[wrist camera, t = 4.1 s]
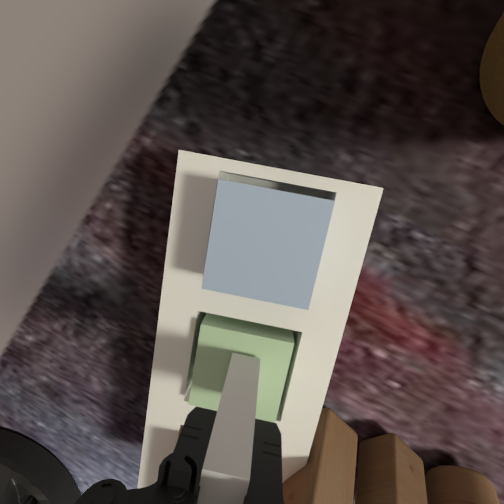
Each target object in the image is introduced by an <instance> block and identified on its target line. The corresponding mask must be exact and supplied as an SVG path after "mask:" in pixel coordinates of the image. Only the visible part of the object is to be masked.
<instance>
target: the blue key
mask: <svg viewBox="0 0 504 504" xmlns="http://www.w3.org/2000/svg"><path fill="white" fill-rule="evenodd" d="M334 203H335V201H333V200H328V199H323V198H317V197H312V196H307V195H301V194H296V193H291V192H286V191H280V190H275V189H270V188H265V187H259V186H254V185H249V184H243V183H238V182H233V181H228V180H222V179H218V184H217V191H216V197H215V204H214V210H213V217H212V223H211V230H210V236H209V242H208V249H207V255H206V262H205V268H204V275H203V281H202V288H201V289H206V290H211V291H216V292H221V293H226V294H230V295H235V296H240V297H245V298H250V299H255V300H260V301H265V302H270V303H275V304H280V305H285V306H290V307H295V308H300V309H305V310H308V309H309V305H310V301H311V297H312V293H313V289H314V285H315V281H316V277H317V273H318V268H319V264H320V260H321V256H322V252H323V248H324V244H325V240H326V236H327V232H328V228H329V224H330V220H331V215H332V211H333V207H334Z"/></svg>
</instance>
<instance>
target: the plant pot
mask: <svg viewBox="0 0 504 504" xmlns="http://www.w3.org/2000/svg"><path fill="white" fill-rule="evenodd" d="M480 88H481V92H482V96H483V99H484V101H485V104H486V106H487V107H488V109H489V111H490V112H491V114H492V115H493V116H494V118H495V119H496V120H497V121H498V122H500V123H501V124H502V125H503V126H504V12H503V14H502V15H501V17H500V19H499V21H498V22H497V24H496V26H495V28H494V29H493V31H492V33H491V35H490V37H489V39H488V41H487V43H486V46H485V48H484V52H483V55H482V59H481V64H480Z"/></svg>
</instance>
